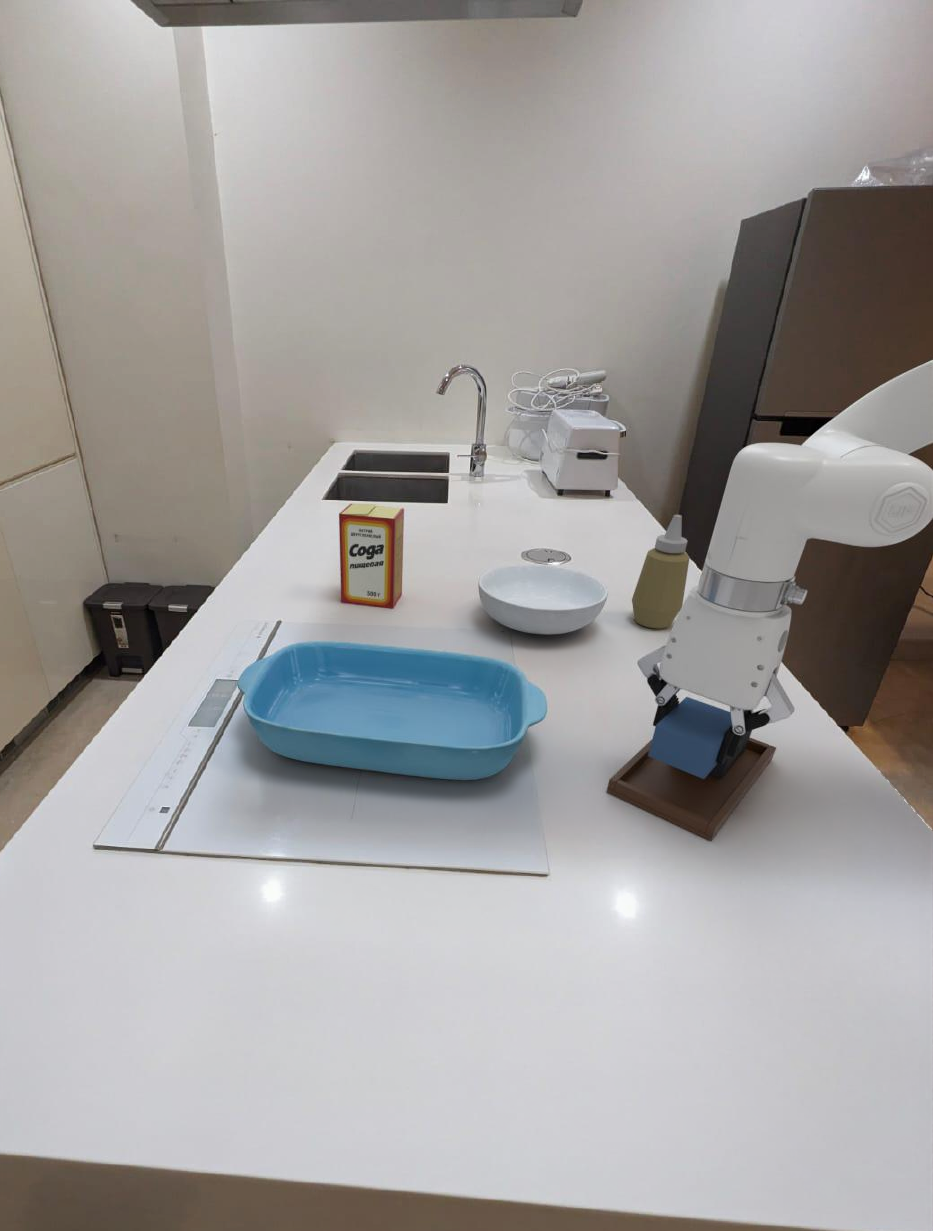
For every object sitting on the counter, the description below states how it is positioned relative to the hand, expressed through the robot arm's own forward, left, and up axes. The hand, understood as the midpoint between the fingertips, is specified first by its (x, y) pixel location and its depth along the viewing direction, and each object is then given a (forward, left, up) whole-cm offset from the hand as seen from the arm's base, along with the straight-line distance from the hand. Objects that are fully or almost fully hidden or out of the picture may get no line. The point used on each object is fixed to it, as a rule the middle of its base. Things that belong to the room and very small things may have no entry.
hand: (692, 744), depth 72 cm
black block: (0, -8, -5) cm, 10 cm away
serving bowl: (+36, -28, -6) cm, 46 cm away
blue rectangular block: (0, 0, -1) cm, 1 cm away
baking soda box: (+63, -16, -6) cm, 65 cm away
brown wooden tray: (0, -4, -6) cm, 7 cm away
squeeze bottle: (+22, -42, -6) cm, 48 cm away
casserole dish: (+31, +14, -6) cm, 35 cm away
